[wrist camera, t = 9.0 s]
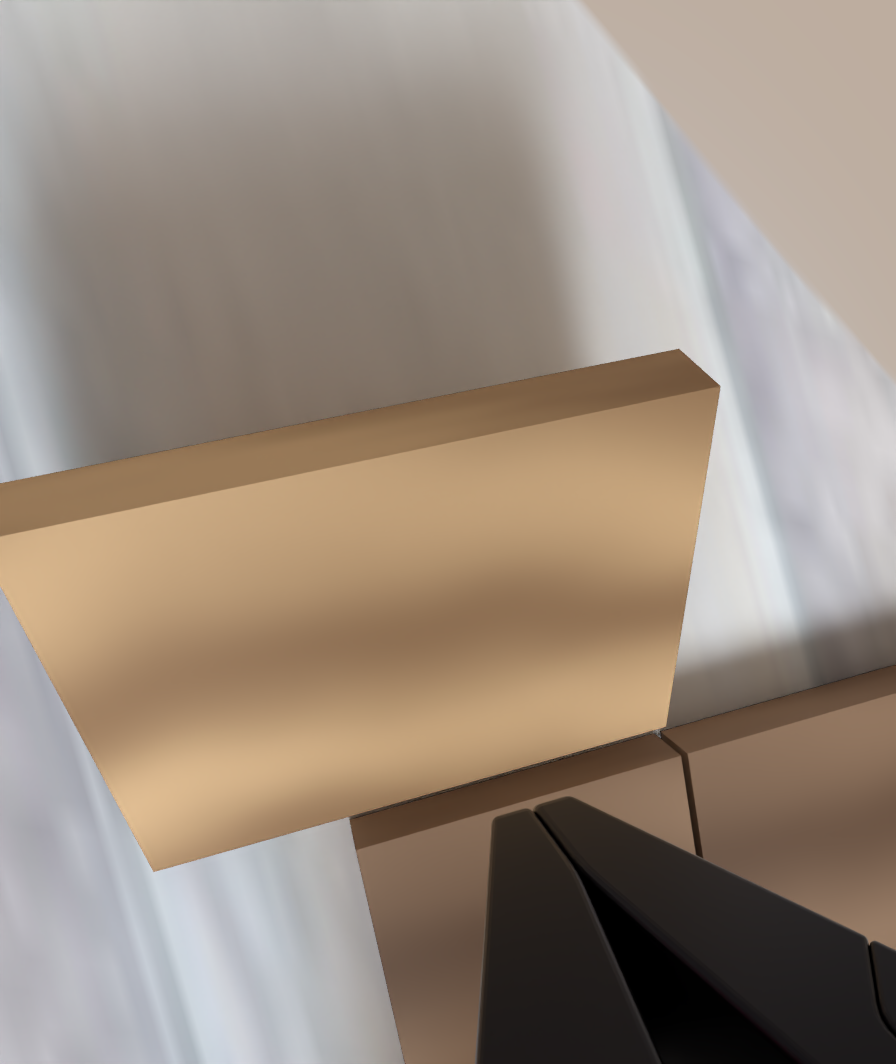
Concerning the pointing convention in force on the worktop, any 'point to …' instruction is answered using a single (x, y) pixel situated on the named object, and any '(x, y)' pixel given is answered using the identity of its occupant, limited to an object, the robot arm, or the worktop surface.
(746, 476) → the worktop surface
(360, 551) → the oak plank
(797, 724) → the weathered wooden board
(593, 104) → the worktop surface
